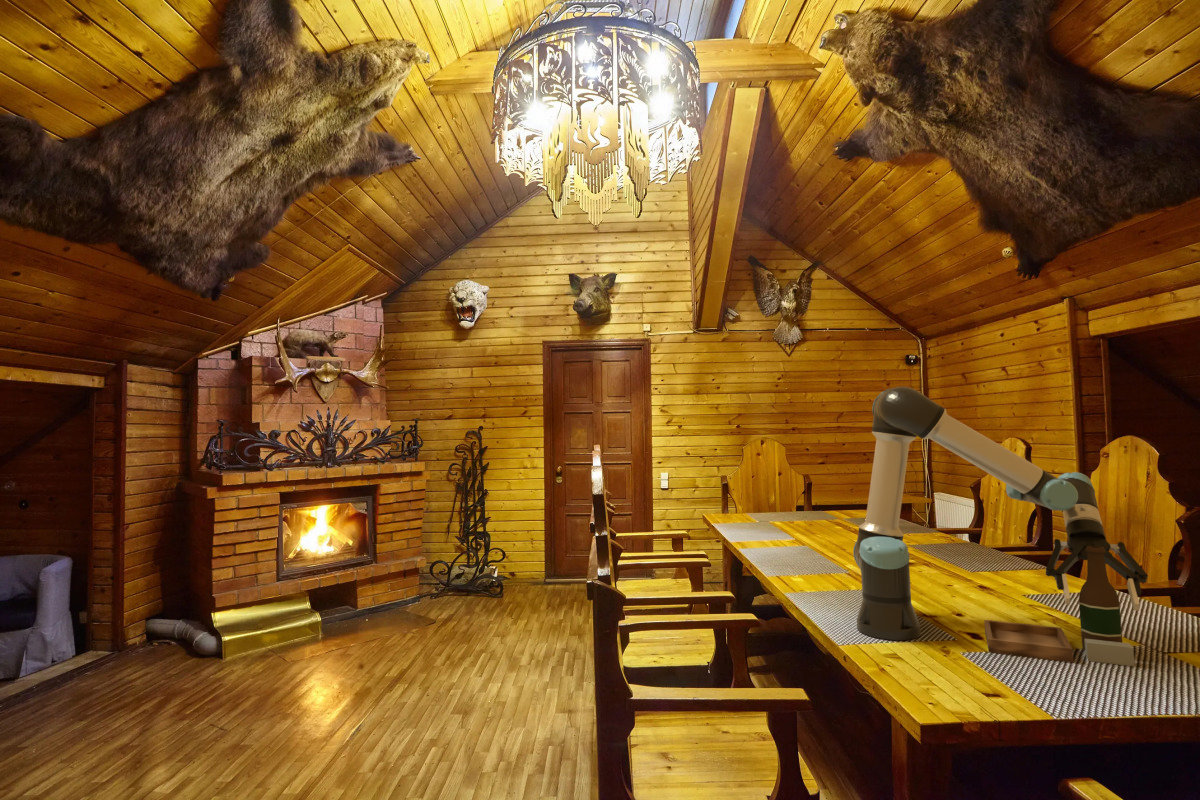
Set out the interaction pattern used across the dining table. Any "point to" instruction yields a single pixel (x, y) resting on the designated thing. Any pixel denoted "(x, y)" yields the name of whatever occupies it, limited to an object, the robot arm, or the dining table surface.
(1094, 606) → the beer bottle
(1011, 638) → the tray
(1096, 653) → the block
